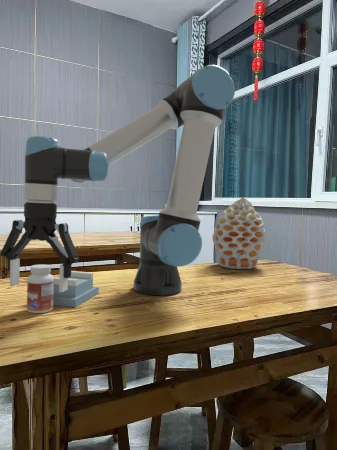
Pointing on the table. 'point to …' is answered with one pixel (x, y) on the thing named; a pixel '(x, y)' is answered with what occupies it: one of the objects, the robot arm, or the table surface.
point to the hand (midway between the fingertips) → (38, 288)
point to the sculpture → (239, 236)
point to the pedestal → (75, 289)
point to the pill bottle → (40, 289)
